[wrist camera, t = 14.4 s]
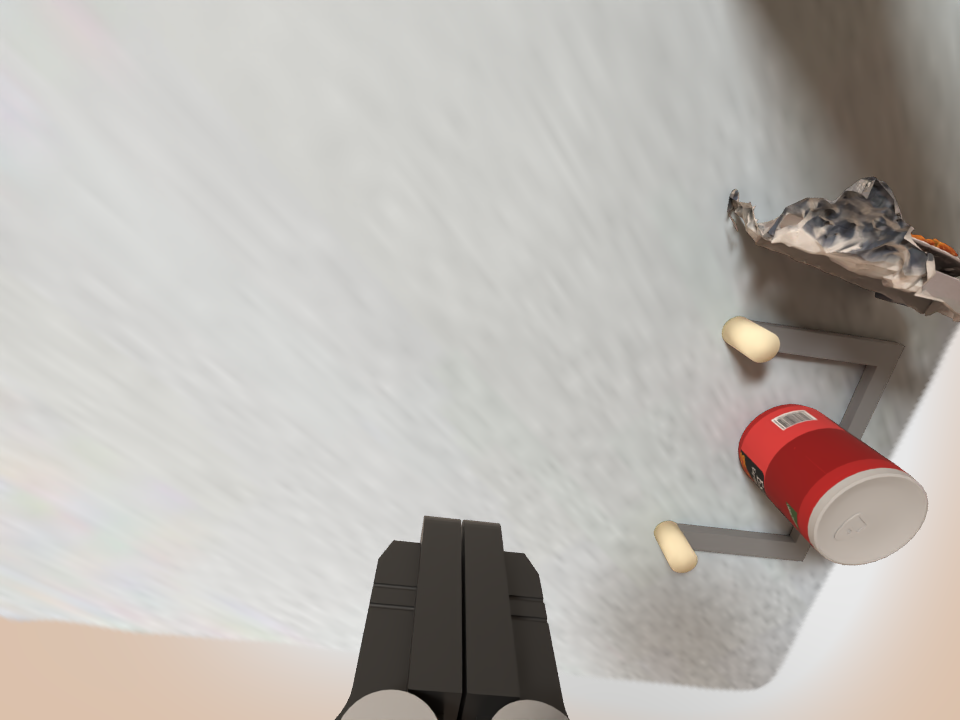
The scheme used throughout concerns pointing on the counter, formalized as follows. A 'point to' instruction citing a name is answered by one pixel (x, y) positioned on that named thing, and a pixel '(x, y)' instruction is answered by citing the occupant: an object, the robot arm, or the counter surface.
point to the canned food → (832, 485)
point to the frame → (880, 360)
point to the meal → (863, 246)
